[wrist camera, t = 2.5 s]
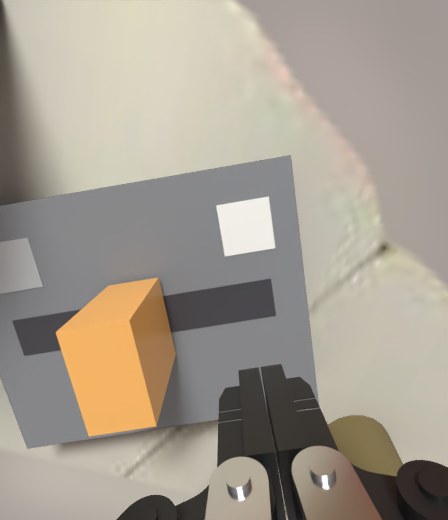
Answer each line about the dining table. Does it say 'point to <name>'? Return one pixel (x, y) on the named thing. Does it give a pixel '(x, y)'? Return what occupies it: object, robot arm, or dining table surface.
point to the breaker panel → (171, 280)
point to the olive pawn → (366, 444)
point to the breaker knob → (120, 357)
